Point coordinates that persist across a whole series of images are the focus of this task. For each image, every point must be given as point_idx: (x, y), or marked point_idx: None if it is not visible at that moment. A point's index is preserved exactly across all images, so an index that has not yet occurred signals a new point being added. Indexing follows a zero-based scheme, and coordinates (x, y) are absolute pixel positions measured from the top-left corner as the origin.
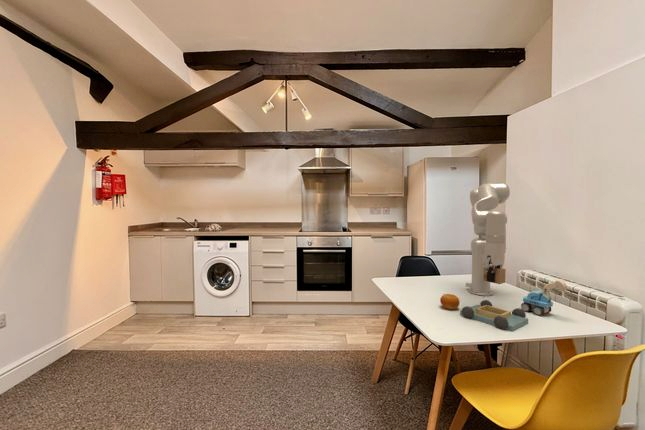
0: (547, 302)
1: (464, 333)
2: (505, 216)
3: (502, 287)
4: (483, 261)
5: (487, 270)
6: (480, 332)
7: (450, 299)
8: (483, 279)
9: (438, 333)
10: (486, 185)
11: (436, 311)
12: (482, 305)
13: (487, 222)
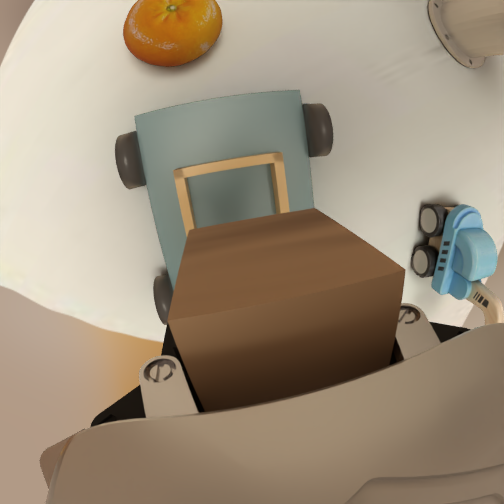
0: (450, 292)
1: (35, 266)
2: None
3: None
4: (52, 479)
5: (128, 398)
6: (80, 281)
7: (134, 44)
8: (189, 237)
9: None
10: None
11: (86, 58)
12: (304, 115)
13: None
